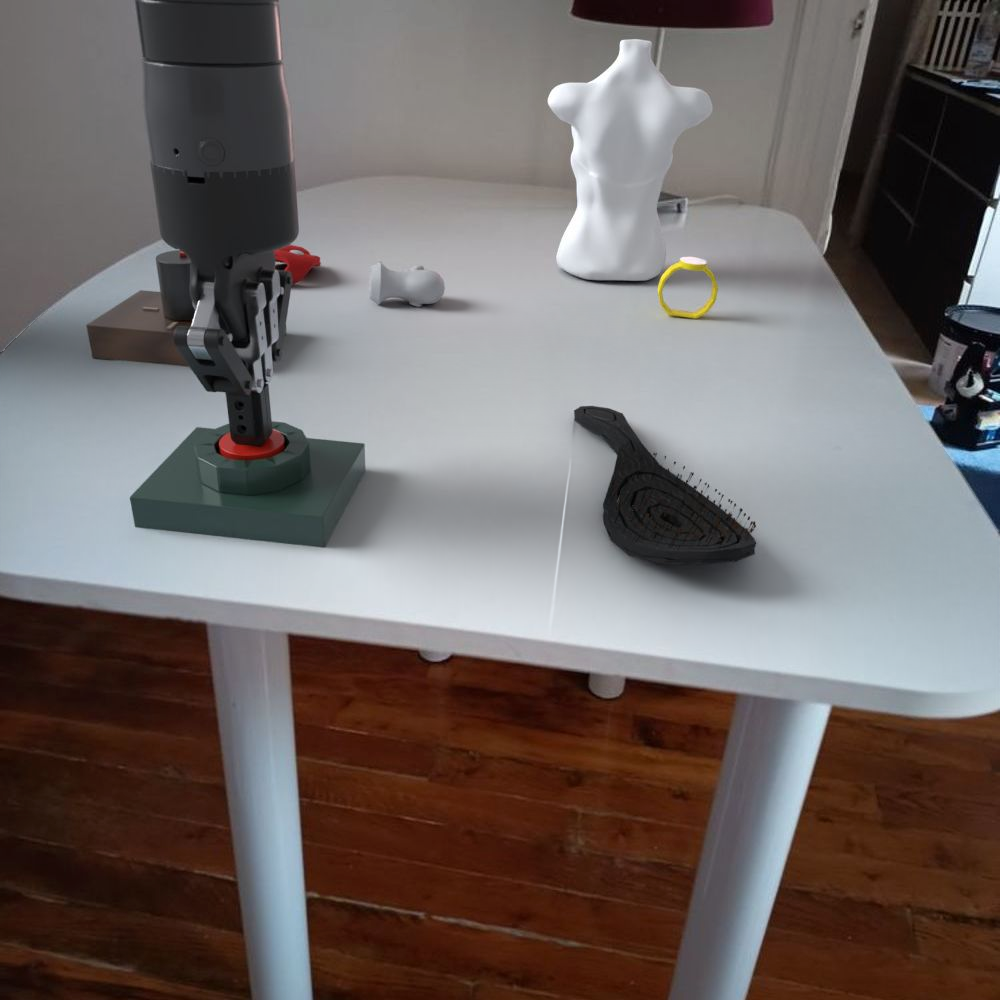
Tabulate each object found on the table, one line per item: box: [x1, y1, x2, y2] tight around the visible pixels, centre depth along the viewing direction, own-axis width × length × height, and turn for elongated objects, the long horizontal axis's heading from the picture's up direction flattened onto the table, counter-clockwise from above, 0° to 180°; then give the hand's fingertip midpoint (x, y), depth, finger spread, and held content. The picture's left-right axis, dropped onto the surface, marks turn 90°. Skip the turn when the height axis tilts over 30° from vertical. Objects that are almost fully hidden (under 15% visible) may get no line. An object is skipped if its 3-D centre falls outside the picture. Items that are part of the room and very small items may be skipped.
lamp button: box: [219, 429, 285, 461], centre depth 58 cm, size 4×4×2 cm
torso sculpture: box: [547, 38, 714, 282], centre depth 103 cm, size 18×10×25 cm, turn 95°
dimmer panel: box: [86, 289, 287, 368], centre depth 82 cm, size 14×10×3 cm
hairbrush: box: [573, 405, 758, 565], centre depth 62 cm, size 8×4×25 cm
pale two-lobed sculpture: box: [368, 261, 446, 308], centre depth 95 cm, size 4×8×5 cm
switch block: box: [129, 420, 366, 548], centre depth 59 cm, size 12×10×4 cm
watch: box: [657, 256, 719, 320], centre depth 95 cm, size 6×3×6 cm, turn 86°
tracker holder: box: [274, 243, 322, 285], centre depth 101 cm, size 12×4×10 cm
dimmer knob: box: [155, 249, 196, 321], centre depth 80 cm, size 4×4×5 cm
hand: (252, 440), depth 58 cm, fingers closed
